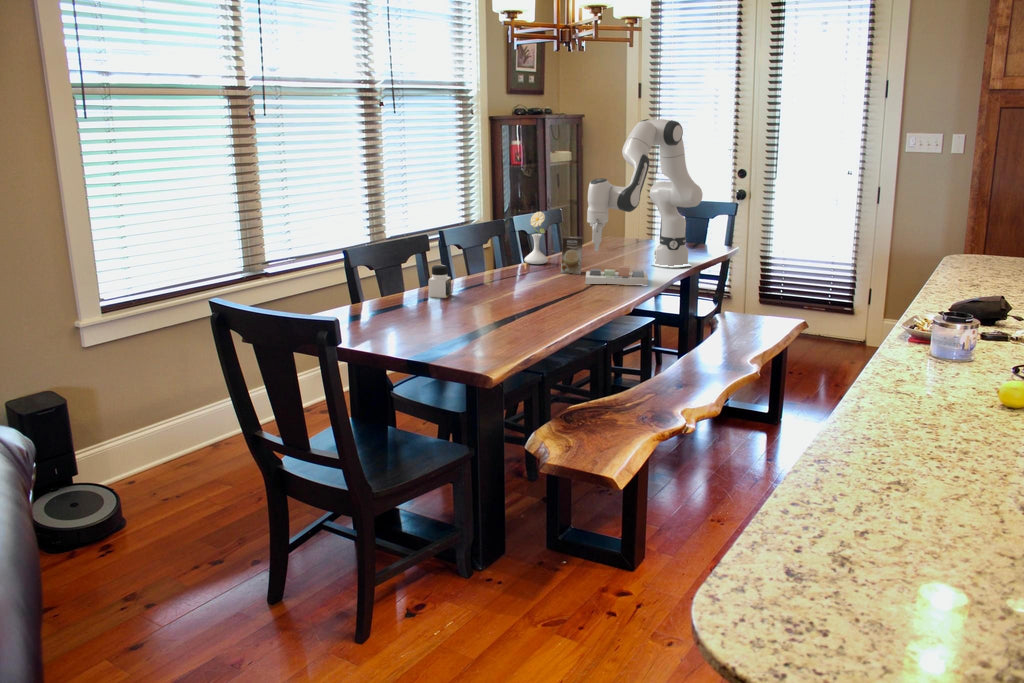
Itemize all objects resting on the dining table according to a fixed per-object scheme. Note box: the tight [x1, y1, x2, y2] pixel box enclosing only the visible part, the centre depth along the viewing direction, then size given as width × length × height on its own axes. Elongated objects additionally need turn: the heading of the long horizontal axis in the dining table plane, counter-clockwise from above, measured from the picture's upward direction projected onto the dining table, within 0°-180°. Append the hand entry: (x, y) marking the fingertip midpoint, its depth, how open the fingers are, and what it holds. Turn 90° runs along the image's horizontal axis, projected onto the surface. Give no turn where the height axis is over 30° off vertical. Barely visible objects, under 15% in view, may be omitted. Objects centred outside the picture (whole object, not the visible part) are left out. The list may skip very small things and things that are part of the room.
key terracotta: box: [618, 265, 630, 277], centre depth 365 cm, size 4×4×4 cm
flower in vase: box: [523, 211, 549, 265], centre depth 403 cm, size 13×11×25 cm
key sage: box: [603, 268, 616, 276], centre depth 367 cm, size 4×4×4 cm
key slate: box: [632, 269, 645, 277], centre depth 365 cm, size 4×4×4 cm
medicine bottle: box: [428, 264, 452, 299], centre depth 335 cm, size 7×7×12 cm
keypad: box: [584, 270, 649, 286], centre depth 366 cm, size 14×26×3 cm, turn 84°
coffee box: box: [560, 235, 583, 275], centre depth 384 cm, size 9×6×16 cm
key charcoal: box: [589, 268, 602, 276], centre depth 367 cm, size 4×4×4 cm
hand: (596, 250), depth 365 cm, fingers closed
